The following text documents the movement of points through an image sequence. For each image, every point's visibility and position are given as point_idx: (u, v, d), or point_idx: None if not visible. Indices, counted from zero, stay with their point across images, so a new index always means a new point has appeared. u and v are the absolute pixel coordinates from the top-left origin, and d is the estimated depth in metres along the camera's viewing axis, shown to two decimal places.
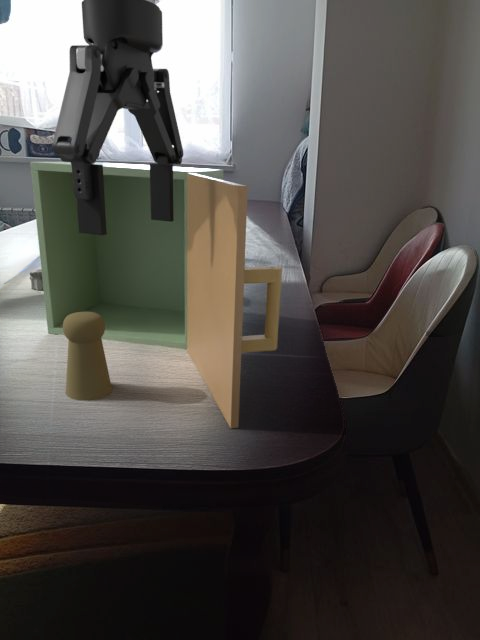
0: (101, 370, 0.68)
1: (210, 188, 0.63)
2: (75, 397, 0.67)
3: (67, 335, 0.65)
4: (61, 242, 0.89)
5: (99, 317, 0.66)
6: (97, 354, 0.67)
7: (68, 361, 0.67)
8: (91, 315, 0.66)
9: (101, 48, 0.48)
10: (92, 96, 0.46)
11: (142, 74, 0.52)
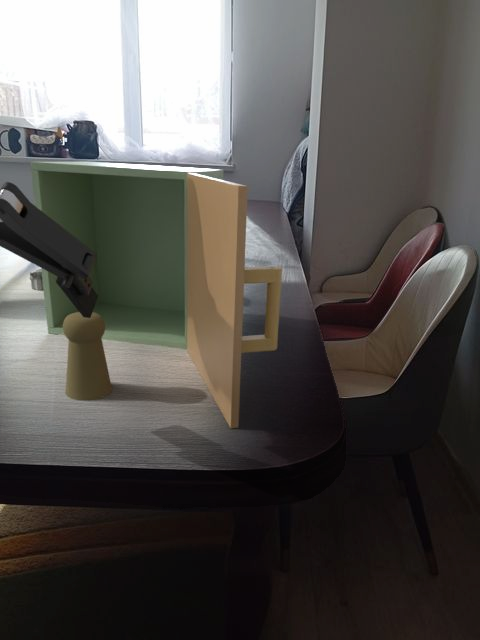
0: (101, 370, 0.68)
1: (210, 188, 0.63)
2: (75, 397, 0.67)
3: (67, 335, 0.65)
4: None
5: (99, 317, 0.66)
6: (97, 354, 0.67)
7: (68, 361, 0.67)
8: (91, 315, 0.66)
9: None
10: None
11: None
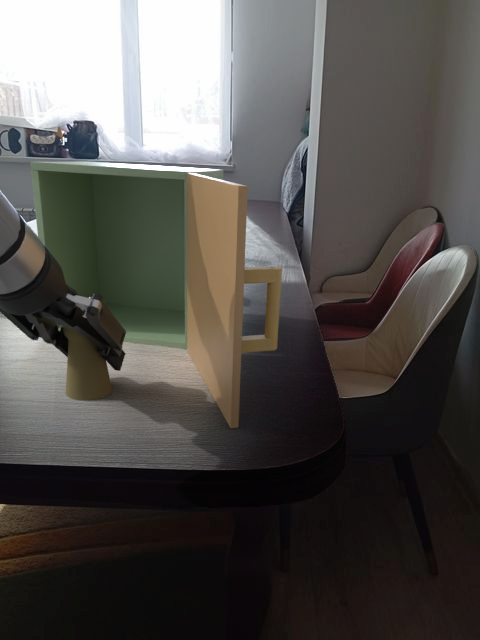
0: (101, 370, 0.68)
1: (210, 188, 0.63)
2: (75, 397, 0.67)
3: (67, 335, 0.65)
4: (61, 242, 0.89)
5: None
6: (97, 354, 0.67)
7: (68, 361, 0.67)
8: None
9: None
10: (13, 319, 0.61)
11: (43, 309, 0.56)
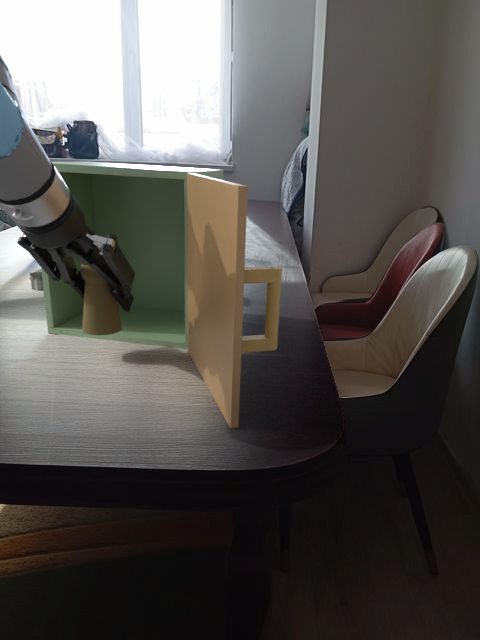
0: (113, 308, 0.78)
1: (210, 188, 0.63)
2: (90, 332, 0.78)
3: (84, 276, 0.75)
4: None
5: None
6: (109, 294, 0.77)
7: (85, 300, 0.77)
8: None
9: None
10: (39, 259, 0.71)
11: (66, 246, 0.66)
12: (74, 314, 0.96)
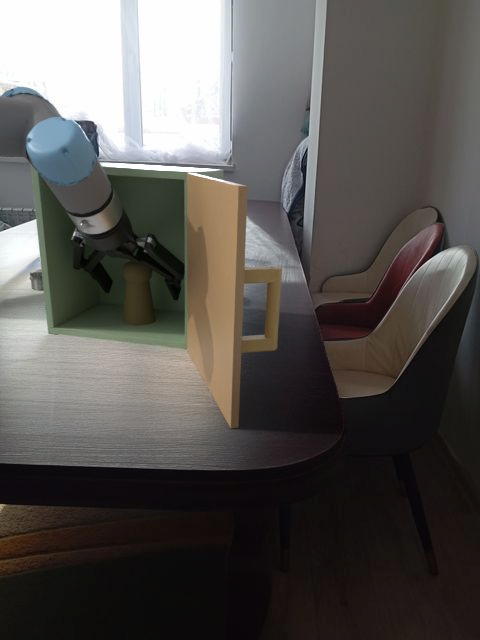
0: (149, 303, 0.94)
1: (210, 188, 0.63)
2: (131, 322, 0.93)
3: (126, 276, 0.91)
4: (61, 242, 0.89)
5: None
6: (146, 291, 0.93)
7: (126, 296, 0.93)
8: None
9: None
10: (78, 254, 0.86)
11: (116, 249, 0.82)
12: (74, 314, 0.96)
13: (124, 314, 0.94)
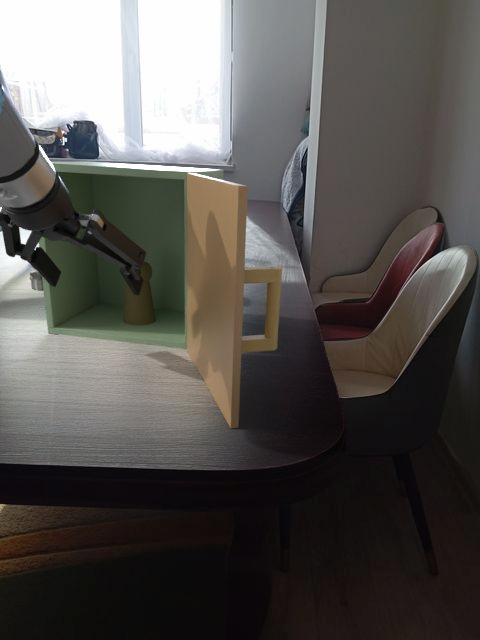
0: (149, 303, 0.94)
1: (210, 188, 0.63)
2: (131, 322, 0.93)
3: None
4: (61, 242, 0.89)
5: (148, 264, 0.92)
6: (146, 291, 0.93)
7: (126, 296, 0.93)
8: None
9: None
10: (8, 236, 0.68)
11: (52, 229, 0.64)
12: (74, 314, 0.96)
13: (124, 314, 0.94)
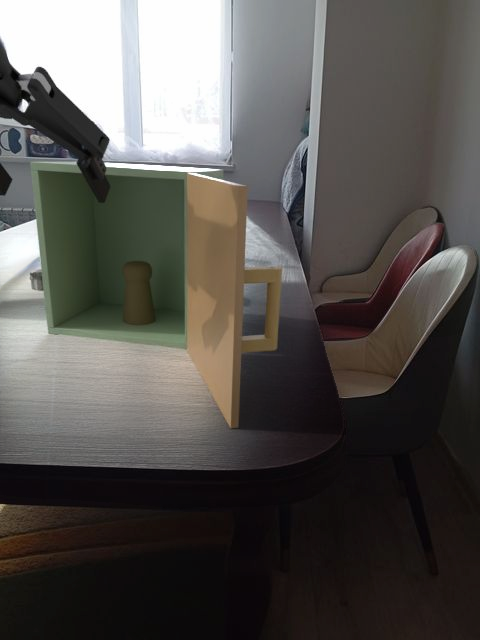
0: (149, 303, 0.94)
1: (210, 188, 0.63)
2: (131, 322, 0.93)
3: (126, 276, 0.91)
4: (61, 242, 0.89)
5: (148, 264, 0.92)
6: (146, 291, 0.93)
7: (126, 296, 0.93)
8: (143, 262, 0.92)
9: None
10: None
11: None
12: (74, 314, 0.96)
13: (124, 314, 0.94)
